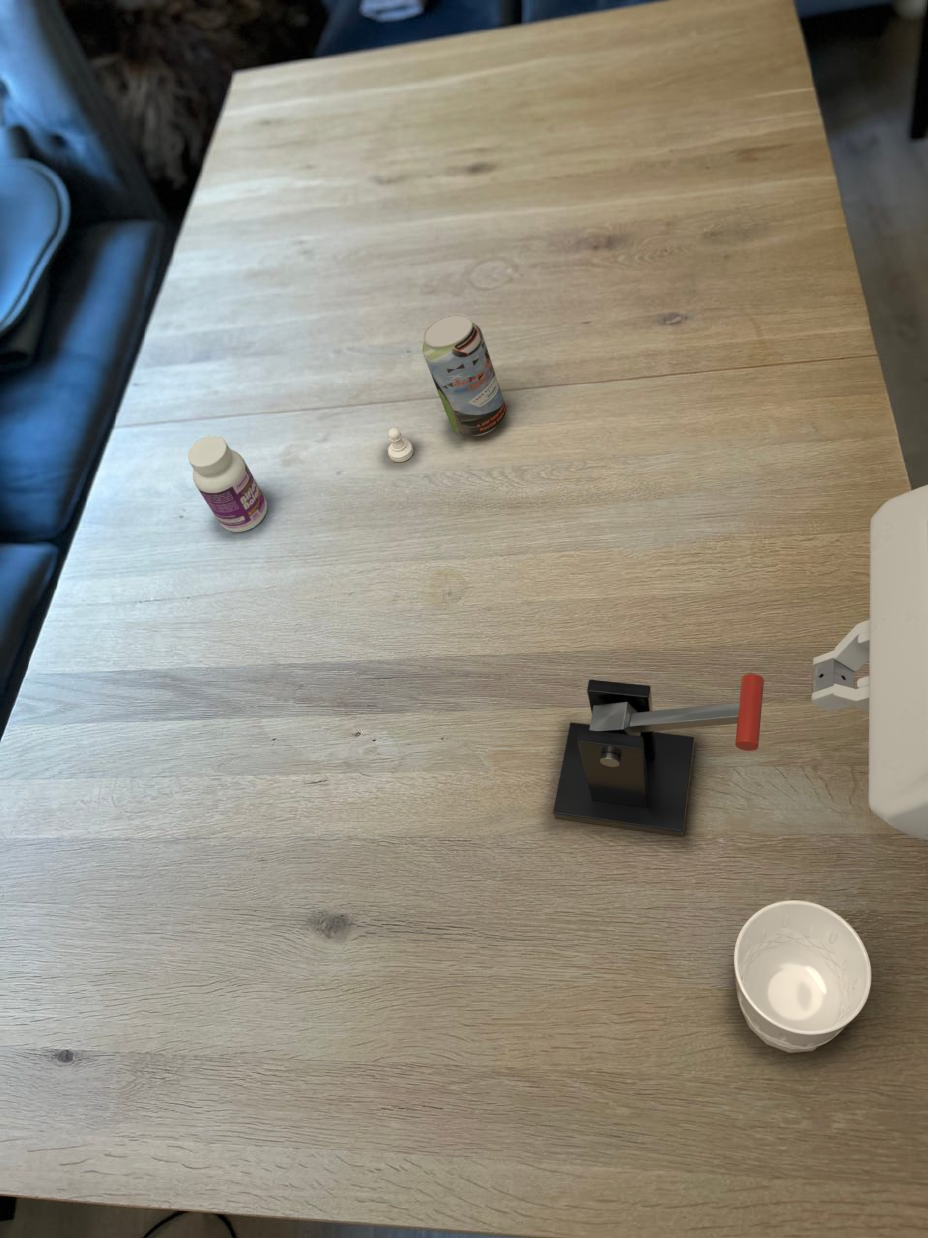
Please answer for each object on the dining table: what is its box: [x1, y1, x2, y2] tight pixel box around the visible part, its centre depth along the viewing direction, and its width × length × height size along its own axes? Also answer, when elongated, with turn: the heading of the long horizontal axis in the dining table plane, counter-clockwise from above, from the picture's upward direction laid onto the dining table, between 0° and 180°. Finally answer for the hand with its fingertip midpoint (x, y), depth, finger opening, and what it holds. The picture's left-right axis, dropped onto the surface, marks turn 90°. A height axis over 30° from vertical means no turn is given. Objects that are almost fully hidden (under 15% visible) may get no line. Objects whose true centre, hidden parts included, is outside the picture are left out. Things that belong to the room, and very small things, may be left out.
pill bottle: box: [187, 435, 268, 533], centre depth 99 cm, size 5×5×10 cm
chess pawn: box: [387, 427, 414, 463], centre depth 102 cm, size 3×3×4 cm
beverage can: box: [422, 313, 508, 437], centre depth 99 cm, size 6×7×12 cm
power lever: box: [589, 673, 765, 752], centre depth 68 cm, size 12×5×2 cm, turn 77°
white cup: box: [733, 899, 872, 1054], centre depth 64 cm, size 8×8×10 cm
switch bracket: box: [552, 679, 695, 838], centre depth 74 cm, size 10×8×12 cm
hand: (818, 686), depth 59 cm, fingers closed
